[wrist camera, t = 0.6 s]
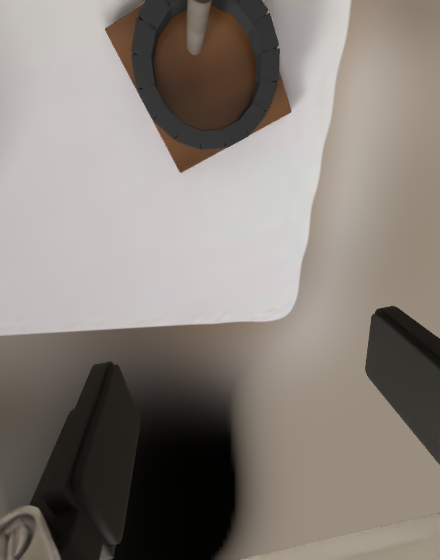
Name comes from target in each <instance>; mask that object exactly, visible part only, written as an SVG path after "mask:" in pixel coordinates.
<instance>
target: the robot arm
mask: <svg viewBox="0 0 440 560" xmlns="http://www.w3.org/2000/svg"><path fill="white" fill-rule="evenodd" d="M365 370H366V374H367V376H368V377H369V379H370V380H371V381H372V382H373V384H374V385H375V386H376V387H377V389H378V390H379V391H380V392H381V393H382V395H383V396H384V397H385V398H386V399H387V401H388V402H389V403H390V405H391V406H392V407H393V408H394V409H395V411H396V412H397V413H398V414H399V415H400V417H401V418H402V419H403V420H404V422H405V423H406V424H407V425H408V426H409V428H410V429H411V430H412V431H413V433H414V434H415V435H416V436H417V438H418V439H419V440H420V441H421V443H422V444H423V445H424V446H425V447H426V449H427V450H428V451H429V452H430V454H431V455H432V456H433V457H434V459H435V460H436V461H437V462H438V463H439V464H440V339H439V338H438V337H437V336H435V335H434V334H432V333H431V332H430V331H428V330H427V329H426V328H424V327H423V326H422V325H420V324H419V323H418V322H416V321H415V320H413V319H412V318H411V317H409V316H408V315H407V314H405V313H404V312H403V311H401V310H400V309H399V308H397V307H395V306H390V307H385V308H380V309H377V310H376V312H375V314H373V315H372V317H371V325H370V333H369V341H368V350H367V358H366V366H365ZM139 428H140V417H139V413H138V411H137V409H136V406H135V404H134V401H133V399H132V396H131V394H130V392H129V389H128V387H127V384H126V382H125V380H124V377H123V375H122V372H121V370H120V367H119V366H118V365H114V364H113V363H112V362H106V363H101V364H95V365H93V367H92V369H91V371H90V374H89V376H88V378H87V381H86V383H85V385H84V388H83V391H82V393H81V395H80V397H79V400H78V402H77V405H76V407H75V409H73V410H72V411H71V412H70V413H69V415H68V417H67V419H66V422H65V424H64V426H63V429H62V431H61V433H60V435H59V438H58V440H57V442H56V445H55V447H54V449H53V452H52V454H51V456H50V459H49V461H48V463H47V466H46V468H45V470H44V473H43V475H42V477H41V479H40V482H39V484H38V487H37V489H36V491H35V494H34V496H33V498H32V500H31V503H30V505H29V506H22V507H20V508H18V509H15V510H13V511H11V512H10V513H9V514H7V515H5V516H4V517H2V518H1V519H0V560H108V559H112V558H114V551H115V546H116V544H118V543H120V542H121V539H122V536H123V530H124V524H125V517H126V511H127V504H128V498H129V492H130V485H131V479H132V473H133V466H134V460H135V453H136V447H137V441H138V434H139ZM241 560H440V513H437V514H432V515H428V516H424V517H419V518H415V519H411V520H407V521H402V522H397V523H393V524H389V525H384V526H380V527H376V528H372V529H367V530H363V531H359V532H354V533H351V534H346V535H342V536H337V537H334V538H329V539H325V540H320V541H316V542H312V543H308V544H303V545H299V546H295V547H291V548H286V549H282V550H278V551H274V552H270V553H265V554H261V555H257V556H253V557H249V558H245V559H241Z"/></svg>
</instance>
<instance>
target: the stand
mask: <svg viewBox="0 0 440 560" xmlns="http://www.w3.org/2000/svg"><path fill="white" fill-rule="evenodd" d="M211 2H212V0H188V2H187V9H186V10H184V11H183V12H181V13H179V14H178V15H176V16H174V17H173V18H171V20H170V22H169V23H168V25H167V26H166V28H165V29H164V31H163V32H162V34H161V36H160V37H159V39H158V43H157V49H156V54H155V59H154V70H155V77H156V85H157V89H158V91H159V93H160V95H161V97H162V99H163V101H164V103H165V105H166V107H167V108H168V109H169V110H170V111H171V112H172V113H173V114H174V115H175V116H176V117H177V118H178V119H180V120H181V121H182V122H183V123H184V124H187V125H190V126H192V127H195V128H197V129H200V130H217V129H223V128H225V127H227V126H228V125H230V124H232V123H234V122H236V121H237V119H238V118H239V117H240V116H241V114H242V113H243V112H244V110H245V109H246V108H247V107H248V105H249V103H250V100H251V97H252V94H253V91H254V88H255V85H256V58H255V55H254V52H253V49H252V46H251V43H250V40H249V37H248V35H247V33H246V32H245V31H244V30H243V28H242V27H241V26H240V25H239V24H238V22H237V21H236V20H235V19H234V17H233V16H231V15H229V14H227V13H225V12H223V11H221V10H220V9H218V8H216V7H214V6H211ZM142 6H143V5H142ZM142 6H141V7H139V8H137V9H136V10H134V11H133V12H131V13H129V14H128V15H126V16H125V17H123V18H121V19H120V20H118V21H117V22H115V23H113V24H112V25H110V26H109V27H107V28H105V31H106V33H107V35H108V36H109V38H110V40H111V42H112V44H113V46H114V48H115V50H116V52H117V54H118V55H119V57H120V59H121V61H122V63H123V65H124V67H125V69H126V71H127V73H128V74H129V76H130V78H131V80H132V82H133V84H134V86H135V88H136V83H135V77H134V71H133V65H132V59H131V55H133V54H132V52H131V47H132V41H133V35H134V29H135V23H136V18H139V16H138V13H139V11H140V9H141V8H142ZM276 83H278V86H277V89H276V91H275V94H274V97H273V100H272V103H271V106H270V109H269V111H267V112H266V113H267V115H266V116H265V117H264V118H263V120H262V121H261V122H260V123H259V125H258V126H257V127H256V128H255V130H254V131H253V132H252V133H251V134H253V133H254V132H256V131H258V130H260V129H262V128H264V127H265V126H267V125H269V124H271V123H273V122H274V121H276V120H278V119H280V118H282V117H284V116H285V115H287V114H289V113H291V108H290V105H289V102H288V99H287V95H286V92H285V89H284V86H283V82H282V79H281V76H280V73H279V80H278V81H277V82H276ZM136 90H137V92H138V89H137V88H136ZM138 94H139V93H138ZM148 113H149V112H148ZM152 120H153V119H152ZM153 122H154V120H153ZM154 124H155V126H156V128H157V130H158V132H159V133H160V135H161V137H162V139H163V141H164V143H165V145H166V147H167V149H168V151H169V152H170V154H171V156H172V158H173V160H174V162H175V164H176V166H177V168H178V170H179V172H180V173H182V172H184V171H185V170H187V169H189V168H191V167H193V166H194V165H196V164H198V163H200V162H202V161H204V160H205V159H207V158H209V157H211V156H213V155H214V154H216V153H218V152H220V151H222V150H224V149H225V148H224V149H210V150H201V149H199V150H198V149H195V148H192V147H190V146H187V145H184V144H182V143H179V142H177V141H176V139H177V138H176V139H175V140H174V139H172V138H171V137H170V136H169V135H168V134H167V133H166V132H165V131H164V130H163V129H162V128H160V127H159V126H158V125H157V124H156V123H155V122H154ZM251 134H249V135H251ZM249 135H248V136H249ZM226 148H227V147H226Z"/></svg>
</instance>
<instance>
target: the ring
mask: <svg viewBox="0 0 440 560" xmlns="http://www.w3.org/2000/svg"><path fill="white" fill-rule="evenodd" d="M187 2H188V0H146V1H145V3H144V4H143V6H142V8H141V9H140V11H139V13H138V16H139V18H136V23H135V29H134V35H133V41H132V47H131V52H132V54H133V55H131V59H132V65H133V71H134V77H135V83H136V88H137V89H138V93H139V95H140V97H141V99H142V101H143V103H144V105H145V107H146V109H147V111H148V112H149V114H150V116H151V118H152V119H153V120H154V122H155V123H156V124H157V125H158V126H159V127H160V128H162V129H163V130H164V131H165V132H166V133H167V134H168V135H169V136H170V137H171V138H172V139H174V140H175V139H176V138H177V139H176V141H177V142H179V143H182V144H184V145H187V146H190V147H192V148H195V149H198V150H199V149H201V150H210V149H224V148H226V147H230V146H232V145H233V144H235V143H237V142H239V141H241V140H242V139H244V138H246V137H248V135H249V134H251V133H252V132H253V131H254V130H255V128H256V127H257V126H258V125H259V123H260V122H261V121H262V120H263V118H264V117H265V116H266V115H267V113H266V112H267V111H269V109H270V106H271V103H272V100H273V97H274V94H275V91H276V89H277V86H278V83H276V82H277V81H278V80H279V53H280V49H279V48H277V47H278V46H279V43H278V39H277V36H276V33H275V29H274V26H273V23H272V19H271V16H270V13H269V14H267V15H265V14H266V13H267V11H268V9H267V8H266V6H265V5H264V4H263V2H262V1H261V0H212V2H211V6H214V7H216V8H218V9H220V10H221V11H223V12H225V13H227V14H229V15H231V16H233V17H234V19H235V20H236V21H237V22H238V24H239V25H240V26H241V27H242V28H243V30H244V31H245V32H246V33H247V35H248V37H249V40H250V43H251V46H252V49H253V52H254V55H255V58H256V85H255V88H254V91H253V94H252V97H251V100H250V103H249V105H248V107H247V108H246V109H245V110H244V112H243V113H242V114H241V116H240V117H239V118H238V119H237V121H236V122H234V123H232V124H230V125H228V126H227V127H225V128H223V129H217V130H200V129H197V128H195V127H192V126H190V125H187V124H184V123H183V122H182V121H181V120H180V119H178V118H177V117H176V116H175V115H174V114H173V113H172V112H171V111H170V110H169V109H168V108H167V107H166V105H165V103H164V101H163V99H162V97H161V95H160V93H159V91H158V89H157V85H156V77H155V70H154V59H155V54H156V49H157V43H158V39H159V37H160V36H161V34H162V32H163V31H164V29H165V28H166V26H167V25H168V23H169V22H170V20H171V18H173V17H174V16H176V15H178V14H179V13H181V12H183V11H184V10H186V9H187Z"/></svg>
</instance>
